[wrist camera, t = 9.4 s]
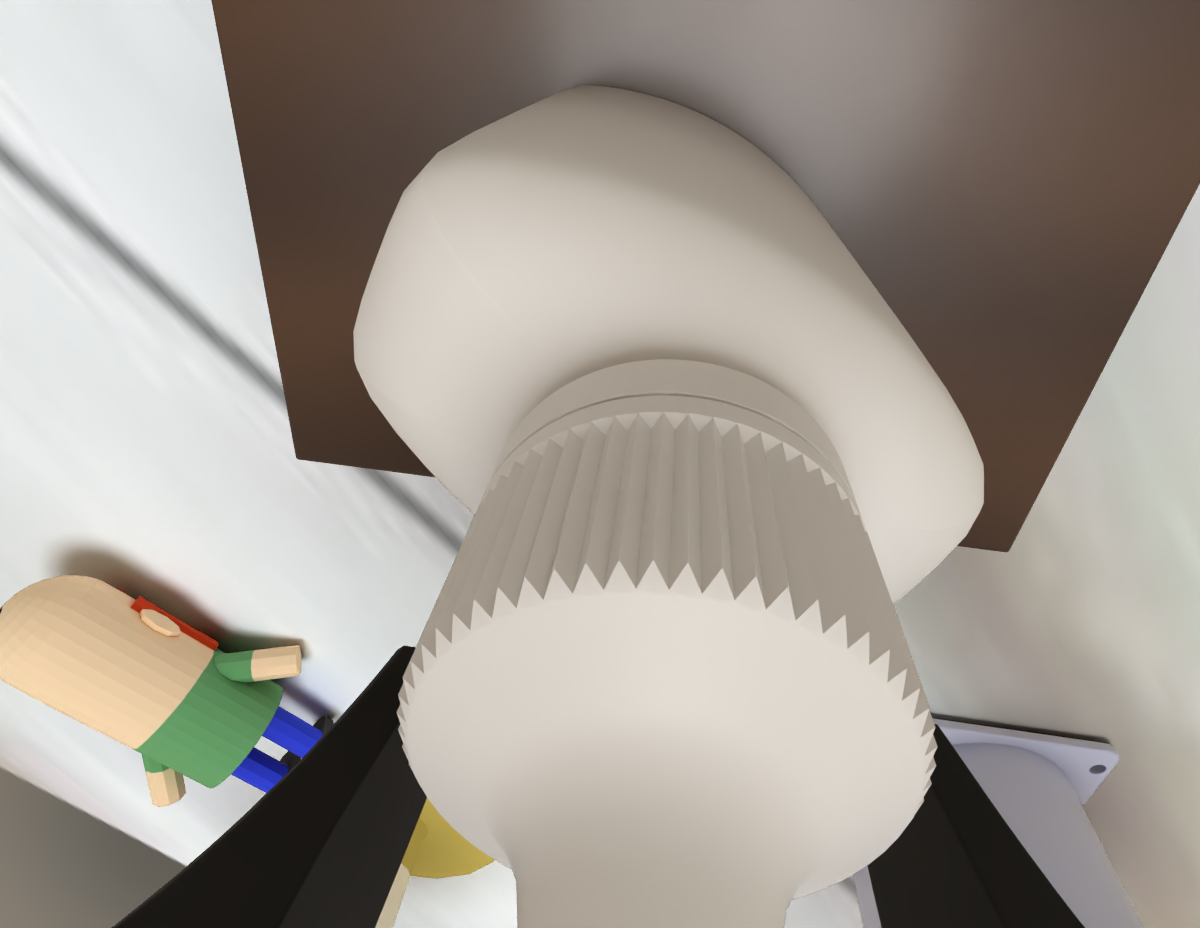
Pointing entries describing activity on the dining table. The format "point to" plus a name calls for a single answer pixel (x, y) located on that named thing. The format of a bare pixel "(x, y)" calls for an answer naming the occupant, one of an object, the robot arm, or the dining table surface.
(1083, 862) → the robot arm
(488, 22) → the shelf
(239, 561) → the dining table surface
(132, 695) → the toy figurine
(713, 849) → the eye dropper bottle
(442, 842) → the candle
